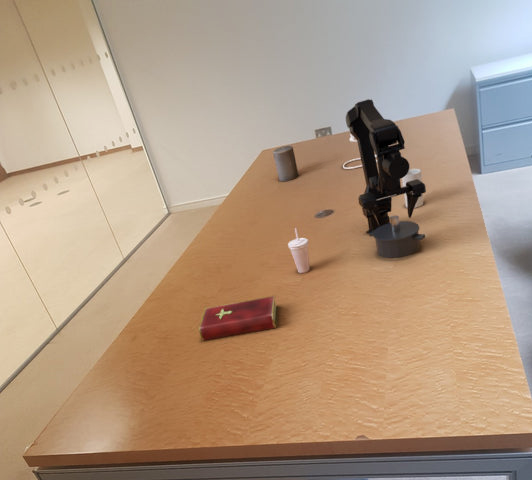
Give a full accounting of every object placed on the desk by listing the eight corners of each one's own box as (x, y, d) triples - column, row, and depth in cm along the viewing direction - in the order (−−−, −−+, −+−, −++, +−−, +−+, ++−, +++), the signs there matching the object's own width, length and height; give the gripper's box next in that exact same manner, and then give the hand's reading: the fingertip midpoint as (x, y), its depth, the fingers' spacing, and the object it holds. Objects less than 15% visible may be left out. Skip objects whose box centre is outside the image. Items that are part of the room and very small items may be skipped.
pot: (414, 263, 165) (412, 242, 161) (362, 257, 177) (359, 238, 173) (434, 244, 172) (433, 225, 168) (384, 240, 183) (381, 221, 180)
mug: (423, 207, 199) (420, 173, 193) (403, 209, 202) (400, 176, 195) (425, 197, 206) (423, 164, 200) (407, 199, 209) (403, 167, 203)
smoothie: (316, 264, 180) (307, 223, 173) (310, 274, 175) (302, 232, 168) (297, 266, 182) (288, 225, 175) (291, 275, 178) (282, 234, 170)
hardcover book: (276, 328, 152) (272, 315, 150) (202, 341, 156) (197, 328, 154) (278, 307, 162) (274, 294, 160) (208, 319, 166) (204, 307, 164)
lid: (410, 243, 163) (409, 226, 160) (366, 243, 170) (364, 227, 167) (425, 223, 172) (424, 207, 169) (382, 224, 179) (380, 208, 177)
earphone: (388, 153, 251) (353, 133, 248) (367, 185, 260) (334, 166, 258) (387, 145, 262) (354, 126, 259) (368, 176, 271) (336, 158, 269)
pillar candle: (302, 173, 270) (296, 142, 263) (292, 181, 264) (285, 148, 256) (285, 174, 276) (278, 143, 268) (275, 182, 270) (268, 150, 262)
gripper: (410, 155, 167) (415, 205, 176) (350, 172, 168) (357, 221, 176) (424, 163, 158) (428, 216, 166) (360, 181, 158) (367, 233, 167)
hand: (394, 221), depth 169 cm, fingers open, 9 cm apart
